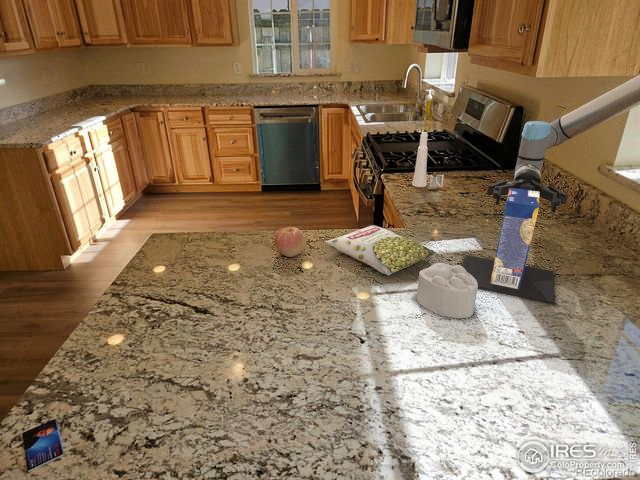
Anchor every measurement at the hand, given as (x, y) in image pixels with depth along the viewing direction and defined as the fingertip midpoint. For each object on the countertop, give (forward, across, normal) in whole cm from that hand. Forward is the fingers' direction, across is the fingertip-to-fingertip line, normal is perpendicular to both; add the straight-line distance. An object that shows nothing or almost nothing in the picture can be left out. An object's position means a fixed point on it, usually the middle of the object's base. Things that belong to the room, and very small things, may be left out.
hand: (525, 203), depth 111 cm
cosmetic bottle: (-55, -39, +17) cm, 70 cm away
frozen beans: (+13, -35, +17) cm, 41 cm away
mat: (+11, -1, +17) cm, 20 cm away
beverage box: (+11, -1, +17) cm, 20 cm away
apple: (+22, -59, +17) cm, 65 cm away
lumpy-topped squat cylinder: (+29, -13, +17) cm, 36 cm away
